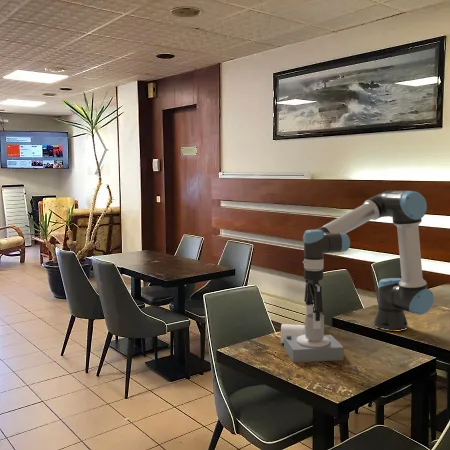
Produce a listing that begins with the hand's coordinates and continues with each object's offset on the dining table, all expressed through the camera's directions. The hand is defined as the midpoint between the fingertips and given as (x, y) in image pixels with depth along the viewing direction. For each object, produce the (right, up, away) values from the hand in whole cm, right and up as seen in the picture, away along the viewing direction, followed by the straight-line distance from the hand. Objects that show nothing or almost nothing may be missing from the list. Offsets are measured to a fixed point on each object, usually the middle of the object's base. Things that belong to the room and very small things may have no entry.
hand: (313, 324), depth 194 cm
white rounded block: (-6, -11, +16) cm, 21 cm away
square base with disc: (0, -12, +1) cm, 12 cm away
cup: (0, -5, +1) cm, 5 cm away
